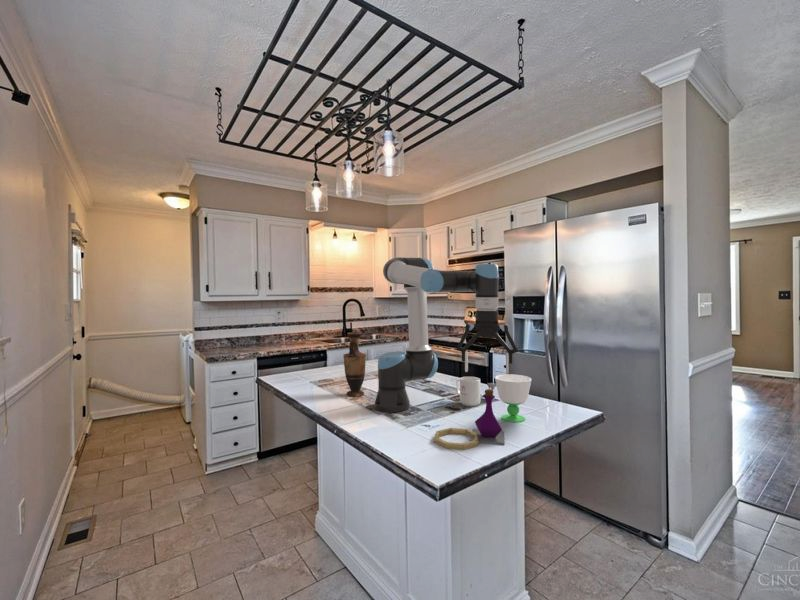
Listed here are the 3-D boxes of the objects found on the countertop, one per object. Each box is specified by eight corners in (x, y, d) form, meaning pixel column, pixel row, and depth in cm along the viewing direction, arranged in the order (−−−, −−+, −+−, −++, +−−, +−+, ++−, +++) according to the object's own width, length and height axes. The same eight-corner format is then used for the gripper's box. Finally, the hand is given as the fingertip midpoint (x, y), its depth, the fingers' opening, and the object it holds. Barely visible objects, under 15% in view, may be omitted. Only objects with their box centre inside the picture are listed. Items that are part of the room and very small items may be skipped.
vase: (350, 391, 198) (349, 331, 197) (370, 392, 194) (369, 332, 193) (340, 396, 188) (338, 333, 187) (360, 398, 184) (359, 334, 183)
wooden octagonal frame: (431, 446, 127) (431, 442, 127) (438, 431, 141) (438, 426, 141) (477, 450, 123) (477, 446, 123) (479, 434, 137) (479, 430, 137)
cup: (488, 419, 153) (488, 378, 152) (504, 410, 163) (504, 372, 163) (523, 427, 144) (522, 383, 143) (537, 417, 154) (537, 377, 154)
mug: (484, 404, 173) (484, 378, 173) (471, 408, 167) (471, 382, 167) (463, 398, 182) (463, 374, 182) (450, 402, 176) (450, 377, 176)
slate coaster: (470, 442, 130) (470, 440, 130) (472, 430, 141) (472, 428, 141) (504, 444, 128) (504, 443, 128) (504, 432, 138) (504, 431, 138)
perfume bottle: (474, 430, 138) (477, 379, 137) (495, 431, 138) (498, 380, 138) (479, 438, 130) (483, 384, 130) (501, 439, 131) (505, 385, 130)
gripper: (448, 310, 133) (448, 372, 133) (526, 311, 126) (525, 376, 127) (451, 308, 140) (451, 368, 141) (524, 309, 134) (524, 371, 135)
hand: (486, 372), depth 134 cm, fingers open, 13 cm apart
